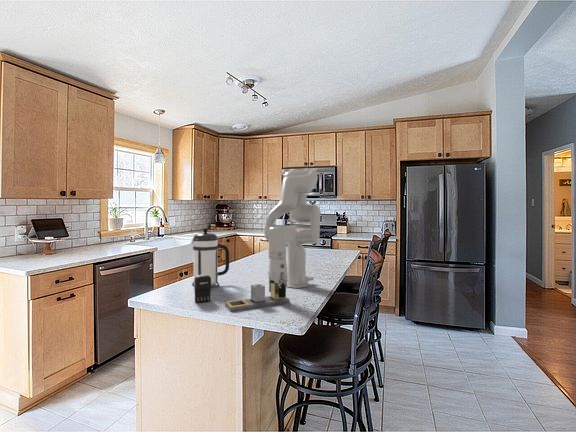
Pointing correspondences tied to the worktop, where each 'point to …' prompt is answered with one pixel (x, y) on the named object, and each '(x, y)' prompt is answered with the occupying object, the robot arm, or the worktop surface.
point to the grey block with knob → (257, 293)
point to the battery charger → (202, 288)
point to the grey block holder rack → (249, 305)
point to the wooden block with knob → (275, 291)
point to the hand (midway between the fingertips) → (277, 294)
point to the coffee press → (208, 256)
